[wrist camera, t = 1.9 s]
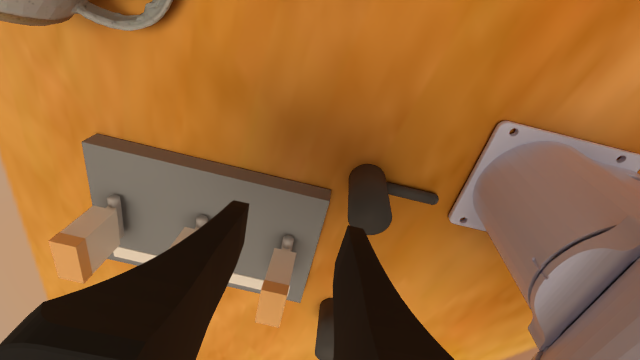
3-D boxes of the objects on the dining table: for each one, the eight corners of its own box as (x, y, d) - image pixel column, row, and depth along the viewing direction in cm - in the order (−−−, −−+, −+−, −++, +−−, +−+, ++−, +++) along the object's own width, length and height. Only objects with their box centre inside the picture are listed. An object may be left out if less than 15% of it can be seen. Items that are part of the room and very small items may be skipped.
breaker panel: (330, 190, 24) (329, 202, 22) (302, 289, 29) (299, 303, 28) (96, 133, 23) (80, 142, 22) (112, 245, 29) (100, 258, 27)
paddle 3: (128, 197, 24) (75, 244, 19) (131, 234, 25) (84, 285, 21) (106, 192, 24) (47, 238, 19) (111, 229, 25) (59, 279, 21)
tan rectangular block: (300, 238, 24) (287, 293, 20) (291, 271, 26) (278, 329, 21) (278, 233, 24) (261, 287, 20) (271, 266, 26) (254, 324, 21)
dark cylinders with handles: (453, 184, 23) (474, 223, 19) (379, 327, 31) (383, 375, 27) (354, 160, 22) (354, 194, 18) (307, 311, 31) (300, 356, 27)
